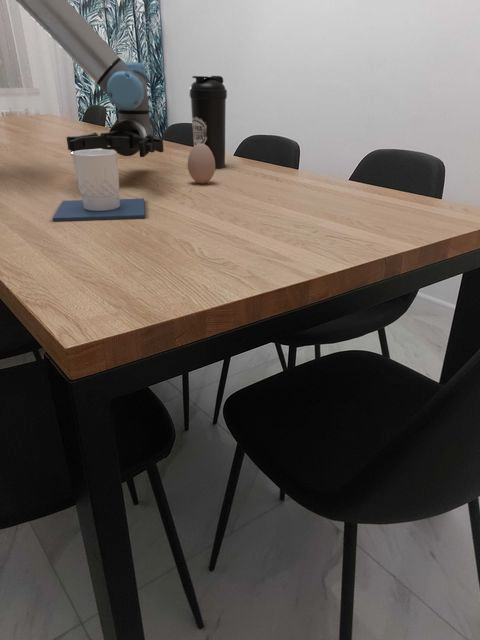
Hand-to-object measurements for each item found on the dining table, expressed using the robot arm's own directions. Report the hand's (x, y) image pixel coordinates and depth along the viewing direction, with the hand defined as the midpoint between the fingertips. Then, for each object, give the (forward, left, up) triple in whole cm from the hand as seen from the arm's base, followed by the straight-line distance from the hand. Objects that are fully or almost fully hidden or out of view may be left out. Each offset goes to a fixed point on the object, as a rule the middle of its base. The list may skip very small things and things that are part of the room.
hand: (106, 149), depth 100 cm
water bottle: (+25, +41, -10) cm, 49 cm away
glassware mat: (-2, -9, -10) cm, 14 cm away
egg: (+20, +16, -10) cm, 28 cm away
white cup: (-2, -9, -10) cm, 13 cm away
